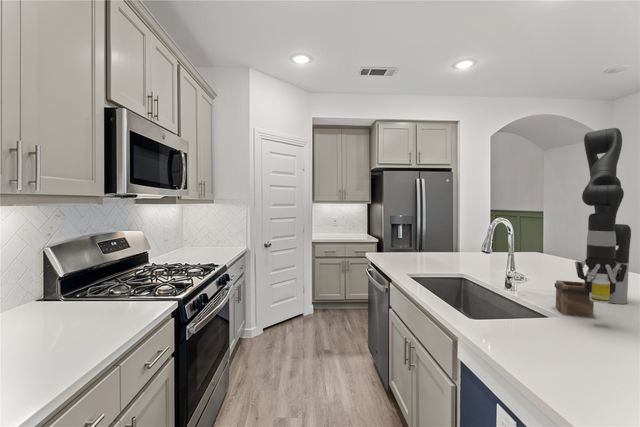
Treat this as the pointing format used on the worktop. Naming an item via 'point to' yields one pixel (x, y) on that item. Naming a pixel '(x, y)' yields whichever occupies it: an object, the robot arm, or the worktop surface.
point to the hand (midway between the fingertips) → (599, 292)
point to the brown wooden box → (573, 299)
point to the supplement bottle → (600, 288)
